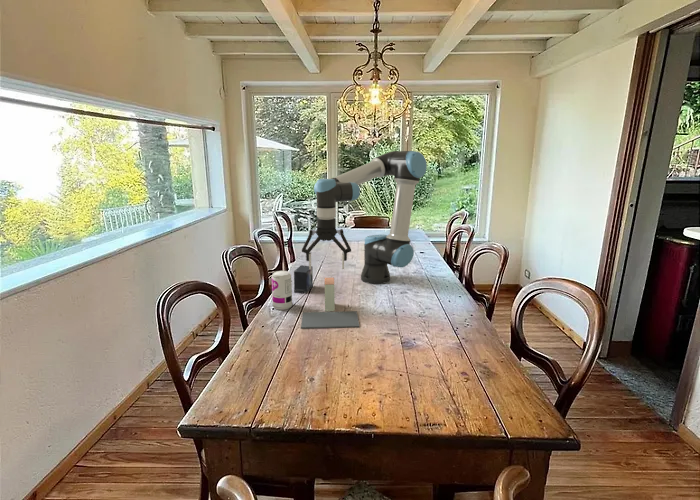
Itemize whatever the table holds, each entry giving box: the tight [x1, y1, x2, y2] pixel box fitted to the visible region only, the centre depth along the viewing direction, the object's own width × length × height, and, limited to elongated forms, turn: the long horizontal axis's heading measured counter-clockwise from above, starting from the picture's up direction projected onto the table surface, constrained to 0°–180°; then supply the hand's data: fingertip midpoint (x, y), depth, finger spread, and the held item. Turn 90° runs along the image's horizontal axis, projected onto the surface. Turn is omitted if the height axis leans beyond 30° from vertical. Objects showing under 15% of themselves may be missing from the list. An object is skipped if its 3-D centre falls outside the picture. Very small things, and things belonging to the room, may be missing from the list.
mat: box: [300, 310, 360, 330], centre depth 158 cm, size 22×14×1 cm, turn 94°
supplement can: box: [271, 270, 293, 311], centre depth 170 cm, size 8×8×15 cm
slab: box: [324, 277, 336, 312], centre depth 169 cm, size 4×8×12 cm, turn 4°
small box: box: [293, 264, 314, 294], centre depth 191 cm, size 11×6×10 cm, turn 168°
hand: (326, 268), depth 167 cm, fingers open, 13 cm apart
